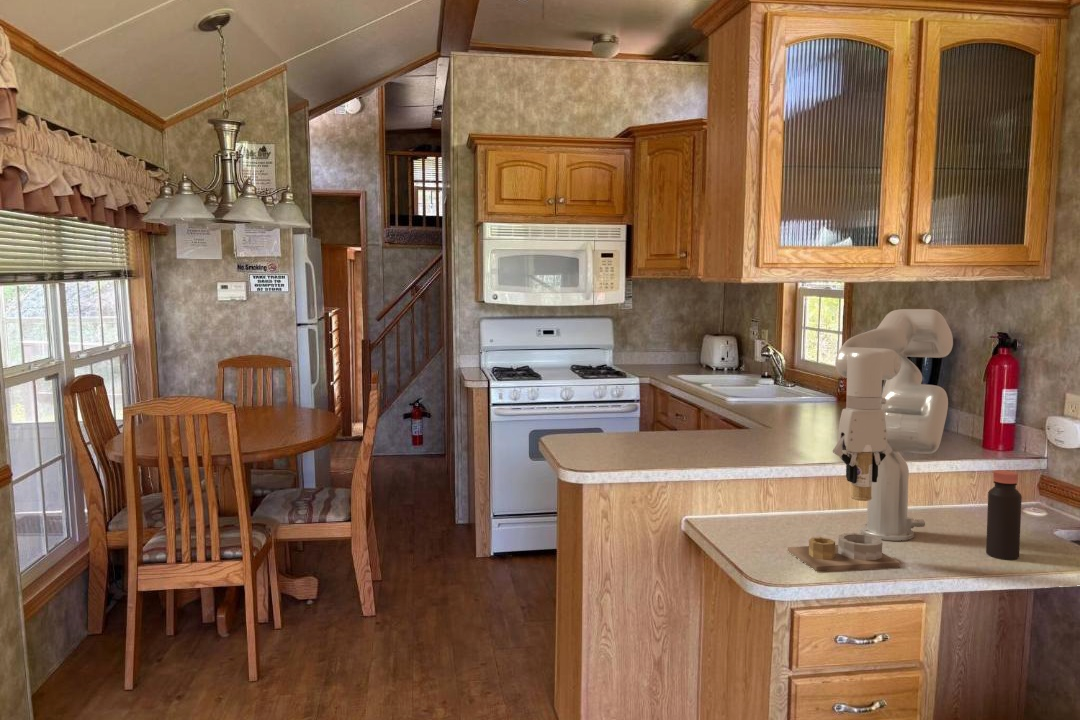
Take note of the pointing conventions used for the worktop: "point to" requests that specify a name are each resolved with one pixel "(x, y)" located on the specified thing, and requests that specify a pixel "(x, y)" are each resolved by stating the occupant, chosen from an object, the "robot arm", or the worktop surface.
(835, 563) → the fitting board
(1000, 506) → the brown bottle
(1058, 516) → the worktop surface
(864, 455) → the sprinkles bottle
